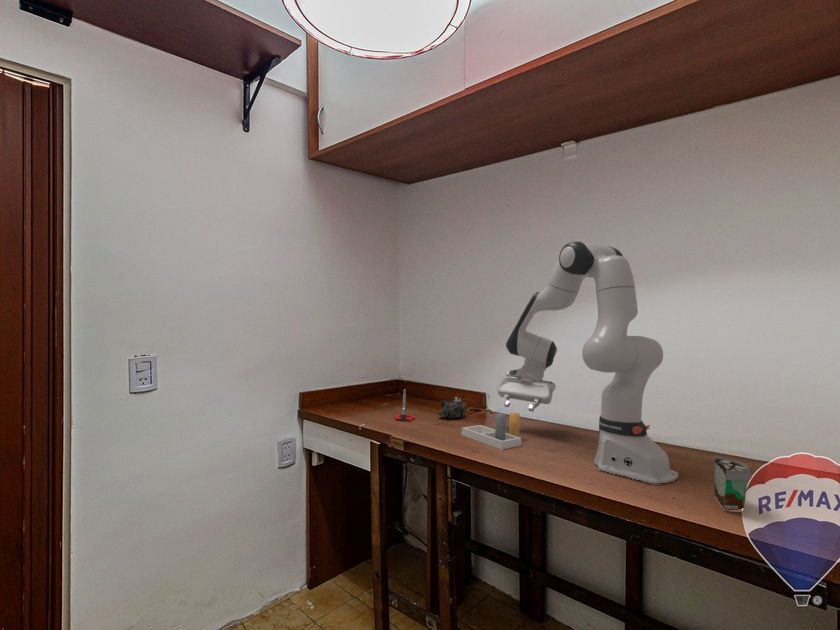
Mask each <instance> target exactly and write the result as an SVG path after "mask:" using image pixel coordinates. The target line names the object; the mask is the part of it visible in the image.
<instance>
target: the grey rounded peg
mask: <svg viewBox="0 0 840 630" xmlns="http://www.w3.org/2000/svg"><path fill="white" fill-rule="evenodd" d="M506 428H507V414H506V413H501V412H498V413H495V438H496V439H499V440H501V441H503V440H505V436H506V433H507V429H506Z"/></svg>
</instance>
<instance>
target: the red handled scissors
mask: <svg viewBox="0 0 840 630" xmlns="http://www.w3.org/2000/svg"><path fill="white" fill-rule="evenodd" d="M406 391H407V390H406V388H404V389H403V394H402V407H401V414H396V415H394V418H395V419H394V420H395V421H401V422H412V420H415V419H416V416H415V415H412V414H407V408H406V404H407V401H406V400H407V394H406Z"/></svg>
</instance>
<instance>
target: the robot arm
mask: <svg viewBox="0 0 840 630" xmlns="http://www.w3.org/2000/svg"><path fill="white" fill-rule="evenodd" d="M585 278H593V279H594V283H595V293H596V302H597V303H596V304H597V305H596V306H597V322H596V324H595V325H596V326H595V329H594V331H593V333H592V335H591V337H589V339H587V340H586V341H585V342H584V345H583V347H582V350H581V351H582V352H581V353H582V360H583V362H584V364H585V365H586V366H587V368H589V369H590V370H592V371H597V372H600V373H601V372H602V373H604V374H605V373H614V376H613V379H612V380H611V381H610V382H609V384H608V385H606V386H605V387H604V388H603V389H602V391H601V401H600V402H601V406H600V416H599V419H598V421H599V422H598V432H599V437H598V444H597V448H596V449H597V450H596V454H595V457H594V460H593V463H594V464H595V466H597V469H598V470H599V471H600V470H602V471H601V472H603V471H606V472H605V473H607V472H609V473H608V474H611V473H613V474H612V475H615V474H617V475H616V476H618V475H621V476H620V477H622V476H626V477H629V478H628V479H630V478H632V479H631V480H634V479H636V480H635V481H637V480H641V481H644V482H643V483H645V482H649V483H665V482H670V481H672V480H674V479H676V478H677V477H678V478H679V473H678V471H676V470H672V469H671V467H670V460H669V456H668V454H667V452H666V451H665V450H663V449H662V448H661V447H660V446H659V444H657V443H656V442H655V441H654V440H653V439H652V438H651V437H650V436H649V435H648V432H647V431H648V430H650V429H651V428H650V426H651V425H650V424H648V425H645V423H644V421H643V420H642V412H643V410H642V409H643V398H644V392H645V389H646V386H647V383H648V381H649V379H650V377H651V375H652V374H653V373H654V371H655V370H656V369H657V368H659V367H660V366H661V364H662V362H663V359H664V352H663V348H662V345H661V344H660V343H659V341H657V340H655V339H654V338H649V337H646V336H643V335H628V328H629V324H630V323H631V321H633V320H634V319H636V317H637V316H638V315H639V314H638V313H639V309H638V300H637V293H636V285H635V280H634V275H633V271H632V269H631V265H630V263H629V260H628V259H627V258H625V257H624V256H623V253H622V252H621V251H620V250H619V249H617V248H616V247H613V246H610V245H609V246H608V245H602V244H600V243H596V242H588V241H587V242H582V241H571V242H568V243H566V244H565V245H564V246H563V247H562V248H561V250H560V252H559V257H558V260H557V261H556V263H555V265H554V266H553V268H552V271H551V273H550V275H549V278H548V281H547V283H546V285H545V287H544V288H543V289H542V290H540V291H536V292H535V293H534V294H533V295H532V296H531V298H530V299H529V301H528V303H527V305H526V306H525V308H524V310H523V312H522V313H521V315H520V317H519V318H518V321H517V323H516V325H515V326H514V328H513V329H512V330H511V331H510V333H508V336H507V338H506V341H505V347H506V350H507V351H508V352H509V354H510V355H514V356H518V357H521V358H524V361H523V362H524V363H523V365H522V366H521V368H518V369H517V368H516V369H511V370H507V371H506V372H505V375H506V376H504V377H503V378H502V379H501V381H500V382H499V384H498V387H497V390H496V391H497V394H498V395H499V397H500V398H504V403H503V405H504V408H510V405H511V402H510V399H511V400H517V401H524V402H531V403H532V404H529V406H528V411H529V412H532V413H533V412H535V409H536V408H537V407H539V406H540V404H543V405H550V404H551V402H552V398H553V394H554V393H553V392H554V391H555V389H556V387H557V386H556V384H555V382H553V381H551V380H548V381H547V380H544V377H545V372H546V370H547V368H549V367H551V366H552V365H553V362H554V358H555V356H556V354H557V350H558V348H557V346H556V343H555V342H554V341H553V340H551V339H548V338H546V337H543V336H539V335H538V334H537V335H536V334H534V333H532V332H529V331H528V330H527V327H528V325H529V324H530V323H531V321H532V319H533V317H534V315H536V314H537V313H539V312H543V311H545V312H546V311H560V310H564V309H567V308H569V307H570V306H572V305H573V304H574V302H575V300H576V298H577V296H578V294H579V292H580V288H581V286H582V283H583V282H584V279H585ZM626 477H625V478H626ZM641 481H640V482H641ZM649 483H648V484H649Z"/></svg>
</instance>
